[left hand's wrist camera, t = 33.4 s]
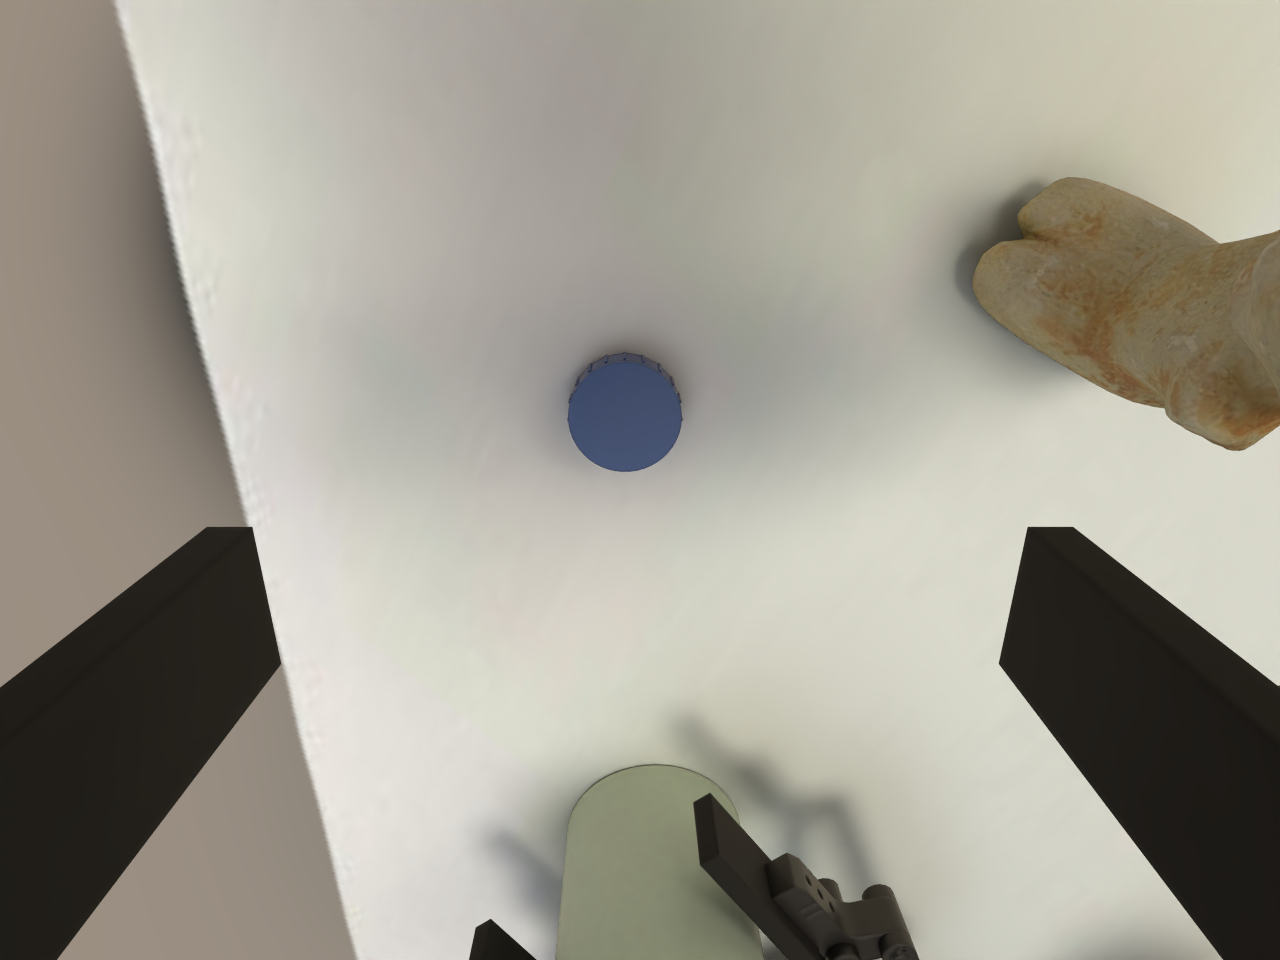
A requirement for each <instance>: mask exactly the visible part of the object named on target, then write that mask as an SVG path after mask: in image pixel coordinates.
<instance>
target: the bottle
mask: <svg viewBox="0 0 1280 960" xmlns="http://www.w3.org/2000/svg"><path fill="white" fill-rule="evenodd" d="M708 793H711V794H712V795H713V796H714V797H715V798H716V799H717V801H718V802H719V803H720V804H721V805H722V806H723V807H724V808H725V810H726V811H727V812H728V813H729V814H730V815H731V816H732V817H733V818H734V820H735V821H736V822H737V823H738V824H739V818H738V815H737V812H736V809H735V807H734V806H733V804H732V802H731V800H730V799H729V798H728V796H727V795H726V794H725V793H724V792H723V791H722V790H721V789H720V788H719V787H718V786H717V785H716V784H714V783H713V782H711V781H710V780H709V779H707V778H705V777H703V776H701V775H699V774H697V773H694V772H692V771H689V770H686V769H682V768H678V767H672V766H663V765H648V766H639V767H633V768H629V769H625V770H622V771H619V772H617V773H614V774H611V775H610V776H608V777H606V778H604V779H602V780H600V781H599V782H598V783H596V784H595V785H593V786H592V787H591V788H590V789H589V790H588V791H587V792H585V794H584V795H583V796H582V797H581V798H580V800H579V801H578V803H577V804H576V806H575V807H574V809H573V812H572V814H571V816H570V820H569V824H568V832H567V843H566V853H565V864H564V874H563V884H562V895H561V905H560V916H559V926H558V936H557V947H556V957H555V960H764V956H763V951H762V945H761V940H760V934H759V929H758V926H757V925H756V924H755V923H754V922H753V921H752V920H751V919H750V918H749V917H748V916H747V915H746V914H745V913H744V912H743V910H742V909H741V908H740V907H739V906H738V905H737V904H736V903H735V902H734V901H733V900H732V899H731V898H730V897H729V896H728V895H727V894H726V892H725V891H724V890H723V889H722V888H721V887H720V886H719V885H718V884H717V883H716V882H715V881H714V880H713V879H712V878H711V877H710V875H709V874H708V873H707V872H706V871H705V870H704V869H703V868H702V867H701V866H700V862H699V853H698V843H697V834H696V825H695V816H694V807H693V802H694V801H696V800H698V799H700V798H701V797H703V796H705V795H707V794H708ZM739 825H740V824H739Z"/></svg>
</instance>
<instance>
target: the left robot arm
mask: <svg viewBox="0 0 1280 960" xmlns="http://www.w3.org/2000/svg"><path fill="white" fill-rule="evenodd" d="M280 665H281V661H280V656H279V651H278V646H277V642H276V637H275V632H274V628H273V623H272V618H271V613H270V609H269V604H268V599H267V594H266V590H265V585H264V580H263V576H262V571H261V566H260V561H259V557H258V552H257V547H256V542H255V538H254V533H253V528H252V527H206V528H205V529H204V530H202V531H201V532H200V533H199V534H197V535H196V536H195V537H194V538H192V539H191V540H190V541H188V542H187V543H186V544H184V545H183V546H182V547H181V548H179V549H178V550H177V551H176V552H174V553H173V554H172V555H170V556H169V557H168V558H166V559H165V560H164V561H163V562H161V563H160V564H159V565H157V566H156V567H155V568H154V569H152V570H151V571H150V572H148V573H147V574H146V575H145V576H143V577H142V578H141V579H139V580H138V581H137V582H136V583H134V584H133V585H132V586H130V587H129V588H128V589H127V590H125V591H124V592H123V593H121V594H120V595H119V596H118V597H116V598H115V599H114V600H112V601H111V602H110V603H108V604H107V605H106V606H105V607H103V608H102V609H101V610H99V611H98V612H97V613H96V614H94V615H93V616H92V617H91V618H89V619H88V620H87V621H85V622H84V623H83V624H81V625H80V626H79V627H78V628H76V629H75V630H74V631H73V632H71V633H70V634H69V635H67V636H66V637H65V638H63V639H62V640H61V641H60V642H58V643H57V644H56V645H54V646H53V647H52V648H51V649H49V650H48V651H47V652H45V653H44V654H43V655H42V656H40V657H39V658H38V659H36V660H35V661H34V662H33V663H31V664H30V665H29V666H27V667H26V668H25V669H24V670H22V671H21V672H20V673H18V674H17V675H16V676H15V677H13V678H12V679H11V680H9V681H8V682H7V683H6V684H4V685H3V686H2V687H0V960H57V959H58V957H59V956H60V955H61V954H62V952H63V951H64V950H65V948H66V947H67V946H68V944H69V943H70V942H71V940H72V939H73V938H74V936H75V935H76V934H77V932H78V931H79V930H80V928H81V927H82V926H83V924H84V923H85V922H86V921H87V919H88V918H89V917H90V915H91V914H92V913H93V911H94V910H95V909H96V907H97V906H98V905H99V903H100V902H101V901H102V899H103V898H104V897H105V896H106V894H107V893H108V892H109V890H110V889H111V888H112V886H113V885H114V884H115V882H116V881H117V880H118V878H119V877H120V876H121V874H122V873H123V872H124V870H125V869H126V868H127V866H128V865H129V864H130V863H131V861H132V860H133V859H134V857H135V856H136V855H137V853H138V852H139V851H140V849H141V848H142V847H143V845H144V844H145V843H146V841H147V840H148V839H149V837H150V836H151V835H152V834H153V832H154V831H155V829H156V828H157V827H158V826H159V824H160V823H161V822H162V820H163V819H164V818H165V816H166V815H167V814H168V812H169V811H170V810H171V808H172V807H173V806H174V805H175V803H176V802H177V801H178V799H179V798H180V797H181V795H182V794H183V793H184V791H185V790H186V789H187V787H188V786H189V785H190V783H191V782H192V781H193V779H194V778H195V777H196V775H197V774H198V773H199V772H200V770H201V769H202V768H203V766H204V765H205V764H206V762H207V761H208V760H209V758H210V757H211V756H212V754H213V753H214V752H215V750H216V749H217V748H218V746H219V745H220V744H221V743H222V741H223V740H224V739H225V737H226V736H227V735H228V733H229V732H230V731H231V729H232V728H233V727H234V725H235V724H236V723H237V721H238V720H239V719H240V717H241V716H242V715H243V713H244V712H245V711H246V709H247V708H248V707H249V706H250V704H251V703H252V702H253V700H254V699H255V698H256V696H257V695H258V694H259V692H260V691H261V690H262V688H263V687H264V686H265V684H266V683H267V682H268V680H269V679H270V678H271V677H272V675H273V674H274V673H275V671H276V670H277V669H278V667H279V666H280ZM999 665H1000V666H1001V667H1002V669H1003V670H1004V671H1005V673H1006V674H1007V675H1008V677H1009V678H1010V679H1011V681H1012V682H1013V683H1014V684H1015V686H1016V687H1017V688H1018V690H1019V691H1020V692H1021V694H1022V695H1023V696H1024V698H1025V699H1026V700H1027V702H1028V703H1029V704H1030V706H1031V707H1032V708H1033V710H1034V711H1035V712H1036V714H1037V715H1038V716H1039V717H1040V719H1041V720H1042V721H1043V723H1044V724H1045V725H1046V727H1047V728H1048V729H1049V731H1050V732H1051V733H1052V735H1053V736H1054V737H1055V739H1056V740H1057V741H1058V743H1059V744H1060V745H1061V746H1062V748H1063V749H1064V750H1065V752H1066V753H1067V754H1068V756H1069V757H1070V758H1071V760H1072V761H1073V762H1074V764H1075V765H1076V766H1077V768H1078V769H1079V770H1080V772H1081V773H1082V774H1083V775H1084V777H1085V778H1086V779H1087V781H1088V782H1089V783H1090V785H1091V786H1092V787H1093V789H1094V790H1095V791H1096V793H1097V794H1098V795H1099V797H1100V798H1101V799H1102V801H1103V802H1104V803H1105V805H1106V806H1107V807H1108V808H1109V810H1110V811H1111V812H1112V814H1113V815H1114V816H1115V818H1116V819H1117V820H1118V822H1119V823H1120V824H1121V826H1122V827H1123V828H1124V830H1125V831H1126V832H1127V834H1128V835H1129V836H1130V837H1131V839H1132V840H1133V841H1134V843H1135V844H1136V845H1137V847H1138V848H1139V849H1140V851H1141V852H1142V853H1143V855H1144V856H1145V857H1146V859H1147V860H1148V861H1149V863H1150V864H1151V865H1152V866H1153V868H1154V869H1155V870H1156V872H1157V873H1158V874H1159V876H1160V877H1161V878H1162V880H1163V881H1164V882H1165V884H1166V885H1167V886H1168V888H1169V889H1170V890H1171V892H1172V893H1173V894H1174V896H1175V897H1176V898H1177V899H1178V901H1179V902H1180V903H1181V905H1182V906H1183V907H1184V909H1185V910H1186V911H1187V913H1188V914H1189V915H1190V917H1191V918H1192V919H1193V921H1194V922H1195V923H1196V925H1197V926H1198V927H1199V928H1200V930H1201V931H1202V932H1203V934H1204V935H1205V936H1206V938H1207V939H1208V940H1209V942H1210V943H1211V944H1212V946H1213V947H1214V948H1215V950H1216V951H1217V952H1218V954H1219V955H1220V956H1221V957H1222V959H1223V960H1280V686H1277V685H1276V684H1274V683H1273V682H1272V681H1271V680H1269V679H1268V678H1267V677H1265V676H1264V675H1263V674H1262V673H1260V672H1259V671H1258V670H1256V669H1255V668H1254V667H1253V666H1251V665H1250V664H1249V663H1247V662H1246V661H1245V660H1244V659H1242V658H1241V657H1240V656H1238V655H1237V654H1236V653H1235V652H1233V651H1232V650H1231V649H1229V648H1228V647H1227V646H1226V645H1224V644H1223V643H1222V642H1220V641H1219V640H1218V639H1217V638H1215V637H1214V636H1213V635H1211V634H1210V633H1209V632H1208V631H1206V630H1205V629H1204V628H1202V627H1201V626H1200V625H1199V624H1197V623H1196V622H1195V621H1193V620H1192V619H1191V618H1190V617H1188V616H1187V615H1186V614H1184V613H1183V612H1182V611H1181V610H1179V609H1178V608H1177V607H1175V606H1174V605H1173V604H1172V603H1170V602H1169V601H1168V600H1166V599H1165V598H1164V597H1162V596H1161V595H1160V594H1159V593H1157V592H1156V591H1155V590H1153V589H1152V588H1151V587H1150V586H1148V585H1147V584H1146V583H1144V582H1143V581H1142V580H1141V579H1139V578H1138V577H1137V576H1135V575H1134V574H1133V573H1132V572H1130V571H1129V570H1128V569H1126V568H1125V567H1124V566H1123V565H1121V564H1120V563H1119V562H1117V561H1116V560H1115V559H1114V558H1112V557H1111V556H1110V555H1108V554H1107V553H1106V552H1105V551H1103V550H1102V549H1101V548H1099V547H1098V546H1097V545H1096V544H1094V543H1093V542H1092V541H1090V540H1089V539H1088V538H1087V537H1085V536H1084V535H1083V534H1081V533H1080V532H1079V531H1078V530H1076V529H1075V528H1074V527H1028V528H1027V533H1026V538H1025V542H1024V547H1023V552H1022V557H1021V561H1020V566H1019V571H1018V576H1017V580H1016V585H1015V590H1014V594H1013V599H1012V604H1011V609H1010V613H1009V618H1008V623H1007V628H1006V632H1005V637H1004V642H1003V646H1002V651H1001V656H1000V661H999Z"/></svg>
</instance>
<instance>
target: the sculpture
mask: <svg viewBox="0 0 1280 960" xmlns="http://www.w3.org/2000/svg"><path fill="white" fill-rule="evenodd" d="M1018 224H1019V226H1020V229H1021V231H1022V234H1023V239H1020V240H1012V241H1002V242H1000V243H998V244H997V245H995V246H993V247H992V248H990V249H989V250H988V251H987V252H985V253H984V254H983V255H982V257H981V259H980V261H979V263H978V265H977V267H976V270H975V273H974V276H973V283H972V285H973V290H974V293H975V295H976V298H977V300H978V302H979V303H980V305H981V306H982V307H983V308H984V309H985V311H986V312H987V313H988V314H989V315H990V316H991V317H993V318H994V319H995V320H996V321H997V322H999V323H1000V324H1001V325H1003V326H1004V327H1005V328H1007V329H1008V330H1009V331H1011V332H1012V333H1013V334H1015V335H1016V336H1017V337H1019V338H1020V339H1021V340H1023V341H1024V342H1026V343H1027V344H1029V345H1030V346H1032V347H1034V348H1035V349H1037V350H1038V351H1040V352H1042V353H1043V354H1045V355H1046V356H1048V357H1050V358H1051V359H1053V360H1055V361H1056V362H1058V363H1060V364H1062V365H1063V366H1065V367H1067V368H1068V369H1070V370H1072V371H1073V372H1075V373H1077V374H1078V375H1080V376H1082V377H1084V378H1085V379H1087V380H1089V381H1091V382H1092V383H1094V384H1096V385H1098V386H1100V387H1101V388H1103V389H1105V390H1107V391H1109V392H1111V393H1113V394H1116V395H1118V396H1120V397H1123V398H1125V399H1127V400H1130V401H1132V402H1136V403H1140V404H1145V405H1149V406H1153V407H1159V408H1165V411H1166V415H1167V416H1168V417H1169V418H1170V419H1171V420H1172V421H1173V422H1175V423H1177V424H1179V425H1180V426H1182V427H1183V428H1185V429H1186V430H1188V431H1190V432H1192V433H1194V434H1197V435H1199V436H1202V437H1204V438H1205V439H1207V440H1208V441H1210V442H1211V443H1213V444H1216V445H1219V446H1222V447H1224V448H1225V449H1228V450H1233V451H1241V450H1245V449H1246V448H1248V447H1250V446H1252V445H1253V444H1255V443H1256V442H1258V441H1259V440H1260V439H1262V438H1263V437H1264V436H1266V435H1267V434H1269V433H1270V432H1271V431H1273V430H1274V429H1275V428H1277V427H1278V426H1280V230H1278V231H1276V232H1273V233H1270V234H1265V235H1261V236H1257V237H1253V238H1248V239H1244V240H1240V241H1235V242H1229V243H1223V244H1219V243H1218V242H1216V241H1215V240H1214V239H1212V238H1211V237H1209V236H1208V235H1206V234H1205V233H1203V232H1202V231H1200V230H1199V229H1197V228H1195V227H1194V226H1192V225H1191V224H1189V223H1188V222H1186V221H1184V220H1182V219H1180V218H1178V217H1176V216H1174V215H1172V214H1170V213H1168V212H1167V211H1165V210H1163V209H1161V208H1159V207H1157V206H1155V205H1153V204H1151V203H1149V202H1147V201H1145V200H1143V199H1141V198H1138V197H1136V196H1134V195H1131V194H1129V193H1126V192H1124V191H1121V190H1119V189H1116V188H1114V187H1111V186H1108V185H1106V184H1103V183H1099V182H1096V181H1092V180H1089V179H1083V178H1074V177H1068V178H1064V179H1060V180H1058V181H1056V182H1054V183H1052V184H1051V185H1049V186H1048V187H1047V188H1046V189H1044V190H1043V191H1042V192H1041V193H1039V194H1038V195H1037V196H1036V197H1034V198H1033V199H1032V200H1031V201H1030V202H1028V203H1027V204H1026V205H1025V206H1023V207H1022V209H1021V210H1020V212H1019V214H1018Z"/></svg>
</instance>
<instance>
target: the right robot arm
mask: <svg viewBox="0 0 1280 960" xmlns="http://www.w3.org/2000/svg"><path fill="white" fill-rule="evenodd" d="M693 807H694V816H695V825H696V834H697V843H698V853H699V862H700V866H701V867H702V868H703V869H704V870H705V871H706V872H707V873H708V874H709V875H710V877H711V878H712V879H713V880H714V881H715V882H716V883H717V884H718V885H719V886H720V887H721V888H722V889H723V890H724V891H725V892H726V894H727V895H728V896H729V897H730V898H731V899H732V900H733V901H734V902H735V903H736V904H737V905H738V906H739V907H740V908H741V909H742V910H743V912H744V913H745V914H746V915H747V916H748V917H749V918H750V919H751V920H752V921H753V922H754V923H755V924H756V925H757V926H758V927H759V929H760V930H761V931H762V932H763V933H764V934H765V935H766V936H767V937H768V938H769V939H770V940H771V941H772V942H773V943H774V944H775V945H776V947H777V948H778V949H779V950H780V951H781V952H782V953H783V954H784V955H785V956H786V957H787V958H788V959H789V960H874V959H879V958H882V960H919V958H918V955H917V953H916V950H915V947H914V945H913V942H912V940H911V937H910V934H909V932H908V929H907V927H906V924H905V922H904V919H903V916H902V914H901V911H900V909H899V906H898V903H897V901H896V898H895V896H894V893H893V891H892V890H891V888H890V887H888V886H886V885H881V884H879V885H873V886H871V887H869V888H867V889H866V890H865V891H864V893H863V895H862V900H861V901H857V902H851V903H845V902H843V900H842V897H841V894H840V890H839V887H838V884H837V883H836V882H835V881H834V880H831V879H826V878H822V879H818V880H817V879H816V877H815V876H813V874H812V873H811V872H810V871H809V869H807V867H806V866H805V865H804V864H803V863H802V861H801V860H800V859H799V858H797V857H795V856H793V855H791V854H788V853H786V854H784V855H782V856H780V857H778V858H776V859H775V860H773V861H771V860H770V859H769V858H768V857H767V855H766V854H765V853H764V852H763V851H762V850H761V849H760V848H759V846H758V845H757V844H756V843H755V842H754V841H753V840H752V839H751V837H750V836H749V835H748V834H747V833H746V832H745V831H744V830H743V829H742V827H741V826H740V825H739V824H738V823H737V822H736V821H735V820H734V818H733V817H732V816H731V815H730V814H729V813H728V812H727V811H726V810H725V808H724V807H723V806H722V805H721V804H720V803H719V802H718V801H717V799H716V798H715V797H714V796H713V795H712V794H711V793H708V794H707V795H705V796H703V797H701V798H700V799H698V800H696V801H694V802H693ZM469 960H536V959H535V958H534V957H533V956H532V955H531V954H529V953H528V952H527V951H526V950H525V949H524V948H523V947H522V946H521V945H519V944H518V943H517V942H516V941H515V940H514V939H513V938H512V937H510V936H509V935H508V934H507V933H506V932H505V931H504V930H503V929H501V928H500V927H499V926H498V925H497V924H496V923H495V922H494V921H493V920H491V919H490V920H488V921H486V922H485V923H483V924H481V925H479V926H478V927H476V929H475V934H474V939H473V944H472V948H471V953H470V958H469Z"/></svg>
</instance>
